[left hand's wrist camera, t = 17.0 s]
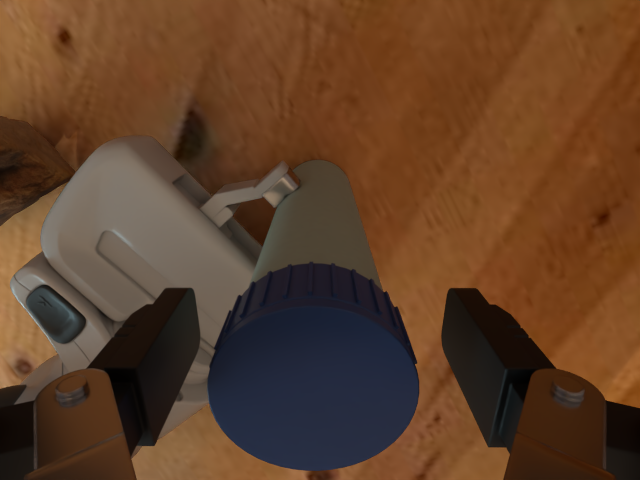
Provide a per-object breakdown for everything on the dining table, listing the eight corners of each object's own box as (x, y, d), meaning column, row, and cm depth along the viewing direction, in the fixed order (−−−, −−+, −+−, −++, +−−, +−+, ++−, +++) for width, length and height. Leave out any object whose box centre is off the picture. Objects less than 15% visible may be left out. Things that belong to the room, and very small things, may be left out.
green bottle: (291, 228, 28) (246, 457, 11) (277, 166, 26) (197, 317, 9) (355, 218, 28) (413, 435, 11) (345, 153, 26) (396, 287, 9)
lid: (388, 412, 12) (402, 478, 10) (225, 401, 12) (206, 466, 10) (418, 267, 10) (442, 312, 8) (224, 252, 10) (200, 294, 8)
